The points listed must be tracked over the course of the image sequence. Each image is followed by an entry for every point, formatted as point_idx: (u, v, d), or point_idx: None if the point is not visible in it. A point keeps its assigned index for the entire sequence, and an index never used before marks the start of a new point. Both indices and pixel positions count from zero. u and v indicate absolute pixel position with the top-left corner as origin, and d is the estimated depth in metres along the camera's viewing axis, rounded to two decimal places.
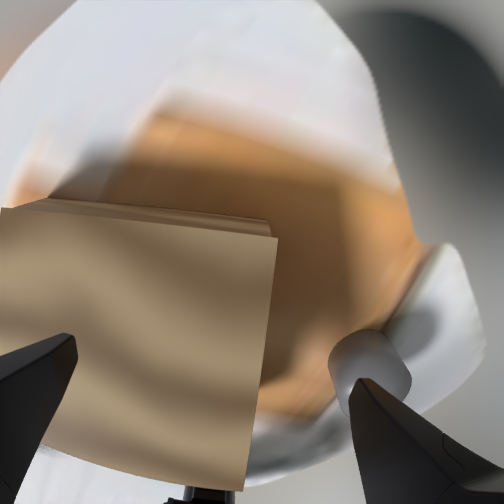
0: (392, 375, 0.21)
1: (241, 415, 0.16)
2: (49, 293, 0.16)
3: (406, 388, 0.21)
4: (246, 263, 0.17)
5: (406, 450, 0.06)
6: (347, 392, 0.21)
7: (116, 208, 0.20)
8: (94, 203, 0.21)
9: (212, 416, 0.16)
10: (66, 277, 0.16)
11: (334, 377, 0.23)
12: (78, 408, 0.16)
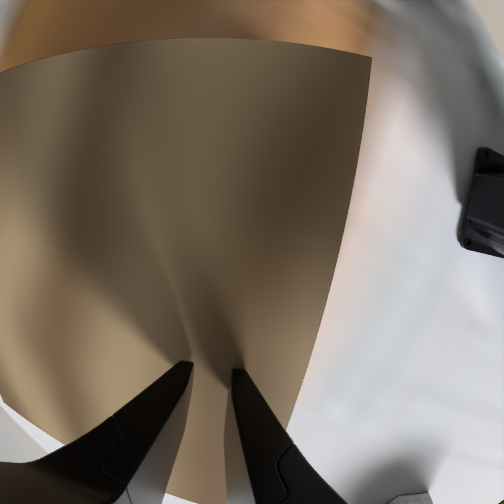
0: None
1: (128, 66, 0.07)
2: (31, 370, 0.11)
3: None
4: None
5: (238, 454, 0.05)
6: None
7: None
8: None
9: (127, 121, 0.07)
10: (11, 340, 0.11)
11: None
12: None
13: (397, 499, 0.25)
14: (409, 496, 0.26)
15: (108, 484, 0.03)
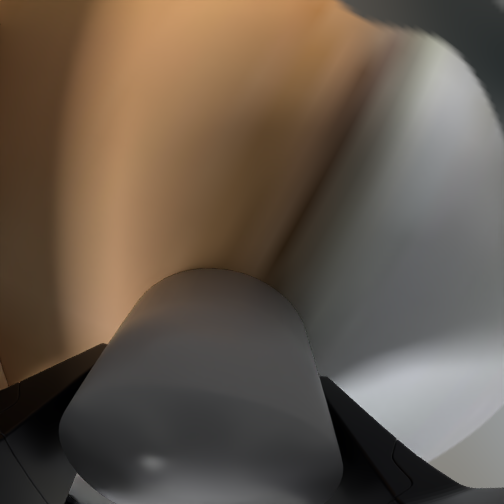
0: (206, 433, 0.04)
1: None
2: None
3: (324, 469, 0.05)
4: None
5: (352, 456, 0.05)
6: (83, 467, 0.05)
7: None
8: None
9: None
10: None
11: None
12: None
13: None
14: None
15: None
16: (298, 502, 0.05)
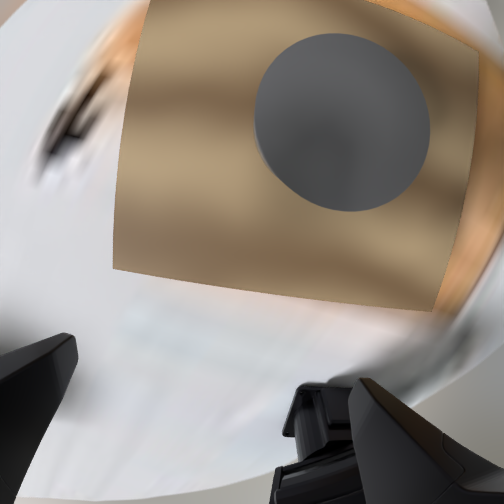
0: (361, 63, 0.08)
1: (452, 209, 0.15)
2: (245, 55, 0.13)
3: (419, 108, 0.09)
4: (460, 62, 0.12)
5: (406, 450, 0.06)
6: (267, 114, 0.09)
7: None
8: None
9: (429, 208, 0.15)
10: (275, 38, 0.12)
11: (255, 136, 0.11)
12: (268, 206, 0.15)
13: None
14: None
15: None
16: (410, 150, 0.09)
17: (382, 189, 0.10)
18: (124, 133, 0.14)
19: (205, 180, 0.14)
